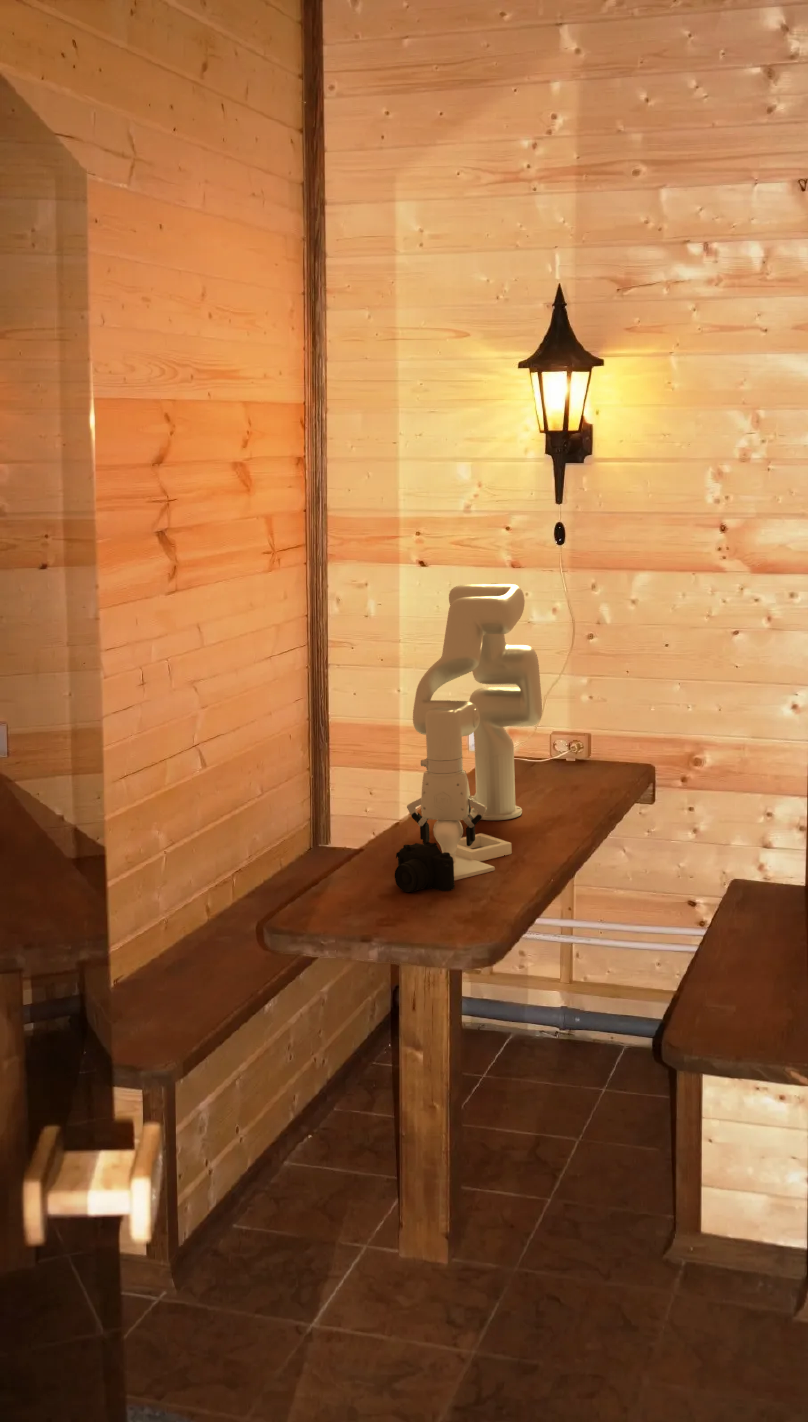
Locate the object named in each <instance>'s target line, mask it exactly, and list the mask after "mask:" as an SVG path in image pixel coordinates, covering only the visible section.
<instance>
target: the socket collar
mask: <svg viewBox="0 0 808 1422" xmlns="http://www.w3.org/2000/svg"><path fill="white" fill-rule="evenodd" d="M441 853H443V852H442V851H441ZM455 854H456V855H459V856H462V857H465V858H468V859H471V860H473V859H474V860H477V861H479V862H484V861H487V860H491V859H496V858H500V857H504V855H505V856H508V855H511V854H513V852H512V842H509V841H507V840H504V839H501V838H497V837H494V836H492V835H488V834H485V833H483V832H481V833H477V834H476V833H475V841H473V843H472V844H471V846H467V843H466V836H462V837H461V839H460V841H459V842H458V844H457V849H456V852H455Z"/></svg>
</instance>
